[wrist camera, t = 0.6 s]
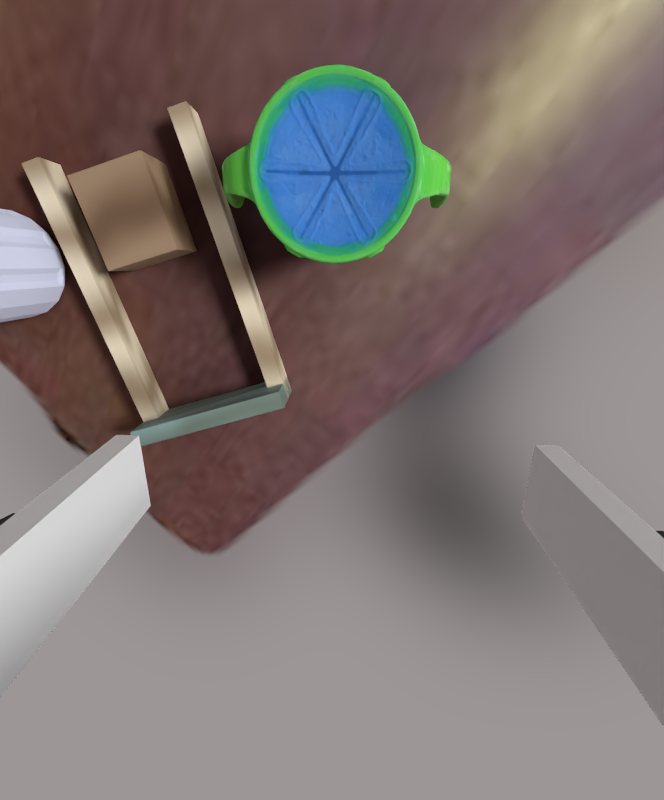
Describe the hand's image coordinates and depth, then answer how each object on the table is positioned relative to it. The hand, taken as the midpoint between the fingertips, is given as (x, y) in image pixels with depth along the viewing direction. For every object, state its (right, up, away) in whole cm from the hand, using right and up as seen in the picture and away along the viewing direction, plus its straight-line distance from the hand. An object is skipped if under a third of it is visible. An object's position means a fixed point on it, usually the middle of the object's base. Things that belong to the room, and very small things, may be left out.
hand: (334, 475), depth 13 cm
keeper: (-16, +18, +21) cm, 32 cm away
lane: (-14, +13, +23) cm, 30 cm away
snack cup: (0, +20, +20) cm, 28 cm away
